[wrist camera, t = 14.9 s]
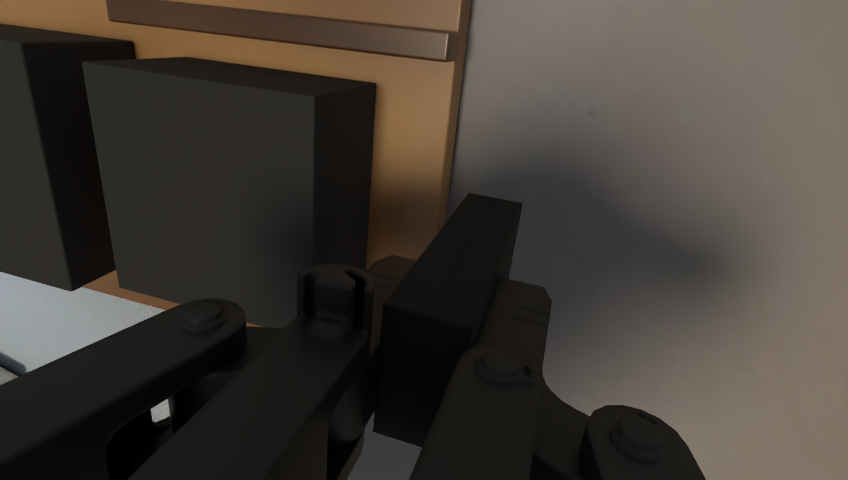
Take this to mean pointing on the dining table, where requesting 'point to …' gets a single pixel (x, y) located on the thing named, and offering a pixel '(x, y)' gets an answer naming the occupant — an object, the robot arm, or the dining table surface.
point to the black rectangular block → (230, 177)
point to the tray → (321, 55)
